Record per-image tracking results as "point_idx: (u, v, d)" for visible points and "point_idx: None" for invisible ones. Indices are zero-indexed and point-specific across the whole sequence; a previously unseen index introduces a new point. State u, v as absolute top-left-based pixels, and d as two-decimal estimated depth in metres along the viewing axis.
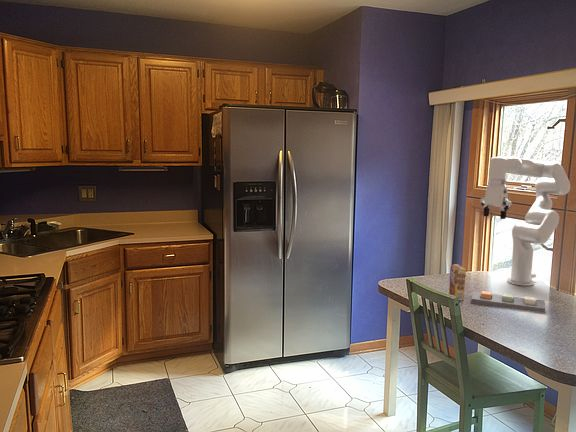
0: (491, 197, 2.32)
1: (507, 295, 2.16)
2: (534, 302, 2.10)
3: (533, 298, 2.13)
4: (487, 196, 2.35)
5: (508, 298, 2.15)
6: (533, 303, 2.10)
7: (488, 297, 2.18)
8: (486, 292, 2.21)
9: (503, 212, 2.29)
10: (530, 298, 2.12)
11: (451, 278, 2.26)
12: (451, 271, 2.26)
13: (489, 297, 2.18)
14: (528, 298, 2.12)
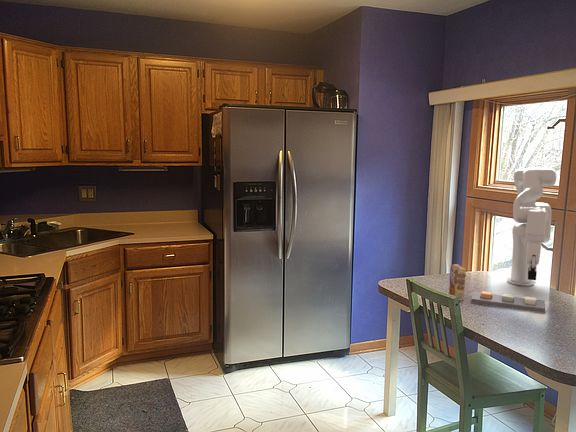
0: None
1: (507, 295, 2.16)
2: (534, 302, 2.10)
3: (533, 298, 2.13)
4: (539, 255, 2.06)
5: (508, 298, 2.15)
6: (533, 303, 2.10)
7: (488, 297, 2.18)
8: (486, 292, 2.21)
9: None
10: (530, 298, 2.12)
11: (451, 278, 2.26)
12: (451, 271, 2.26)
13: (489, 297, 2.18)
14: (528, 298, 2.12)
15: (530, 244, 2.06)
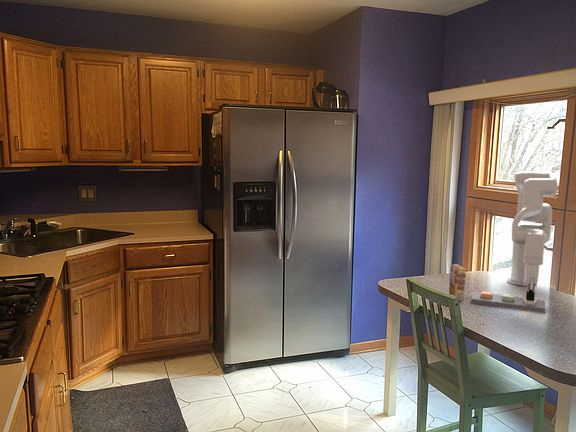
0: None
1: (507, 295, 2.16)
2: (534, 304, 2.10)
3: None
4: None
5: (508, 298, 2.15)
6: None
7: (488, 297, 2.18)
8: (486, 292, 2.21)
9: None
10: None
11: (451, 278, 2.26)
12: (451, 271, 2.26)
13: (489, 297, 2.18)
14: None
15: (528, 266, 2.07)
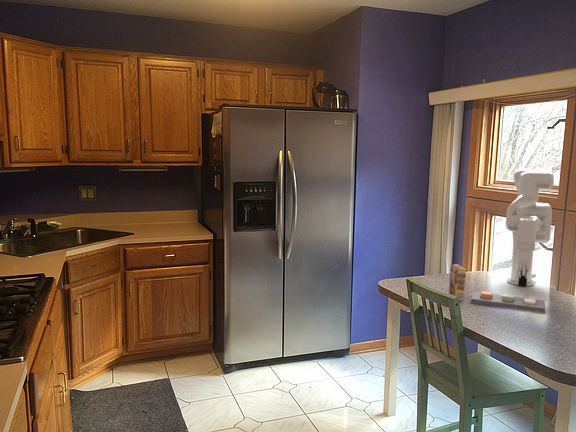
0: None
1: (507, 295, 2.16)
2: (534, 304, 2.10)
3: (533, 300, 2.13)
4: (530, 263, 2.08)
5: (508, 298, 2.15)
6: None
7: (488, 297, 2.18)
8: (486, 292, 2.21)
9: None
10: (530, 300, 2.12)
11: (451, 278, 2.26)
12: (451, 271, 2.26)
13: (489, 297, 2.18)
14: (528, 300, 2.12)
15: (521, 252, 2.08)
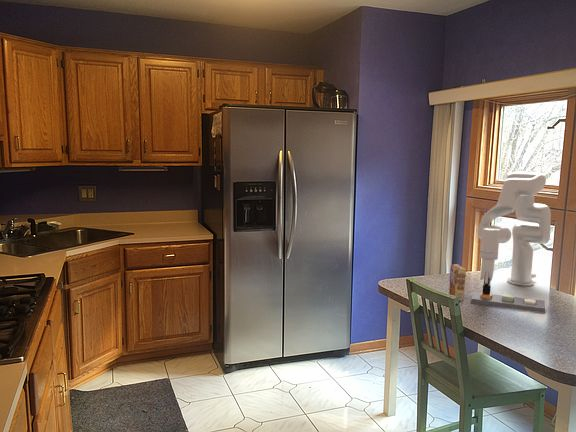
0: (493, 271, 2.17)
1: (507, 295, 2.16)
2: (534, 304, 2.10)
3: (533, 300, 2.13)
4: (492, 271, 2.15)
5: (508, 298, 2.15)
6: None
7: (488, 298, 2.18)
8: None
9: None
10: (530, 300, 2.12)
11: (451, 278, 2.26)
12: (451, 271, 2.26)
13: (489, 298, 2.18)
14: (528, 300, 2.12)
15: (483, 261, 2.15)
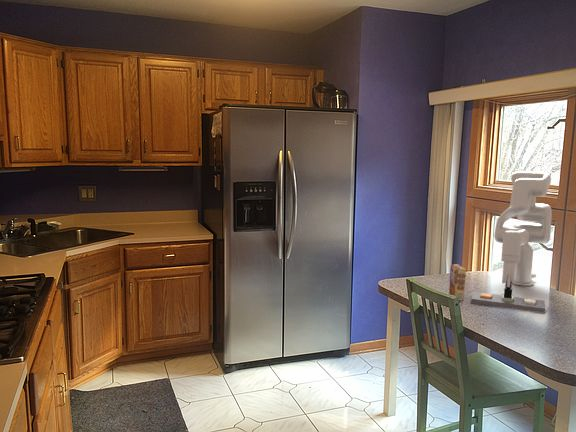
0: (515, 274, 2.13)
1: None
2: (534, 304, 2.10)
3: (533, 300, 2.13)
4: (515, 275, 2.11)
5: (507, 300, 2.15)
6: None
7: None
8: (486, 294, 2.21)
9: None
10: (530, 300, 2.12)
11: (451, 278, 2.26)
12: (451, 271, 2.26)
13: None
14: (528, 300, 2.12)
15: (505, 264, 2.11)
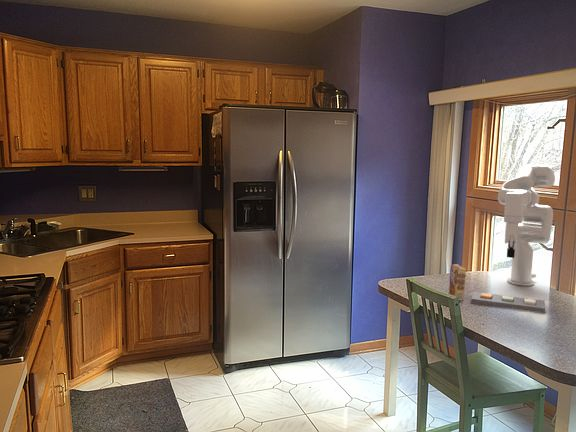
0: None
1: (507, 297, 2.17)
2: (534, 304, 2.10)
3: (533, 300, 2.13)
4: (517, 235, 2.18)
5: (507, 300, 2.15)
6: None
7: None
8: (486, 294, 2.21)
9: None
10: (530, 300, 2.12)
11: (451, 278, 2.26)
12: (451, 271, 2.26)
13: None
14: (528, 300, 2.12)
15: (508, 225, 2.17)
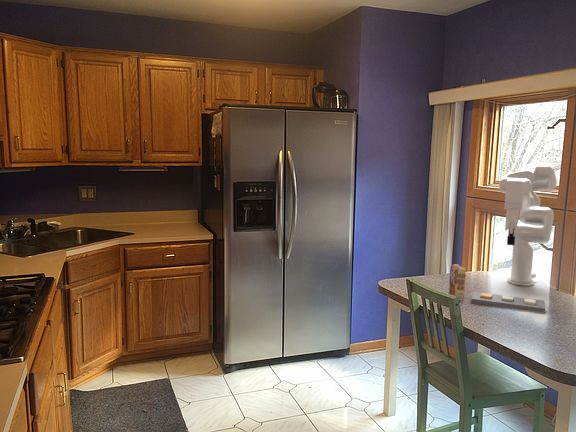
0: None
1: (507, 297, 2.17)
2: (534, 304, 2.10)
3: (533, 300, 2.13)
4: (517, 222, 2.20)
5: (507, 300, 2.15)
6: None
7: None
8: (486, 294, 2.21)
9: None
10: (530, 300, 2.12)
11: (451, 278, 2.26)
12: (451, 271, 2.26)
13: None
14: (528, 300, 2.12)
15: (508, 212, 2.20)
